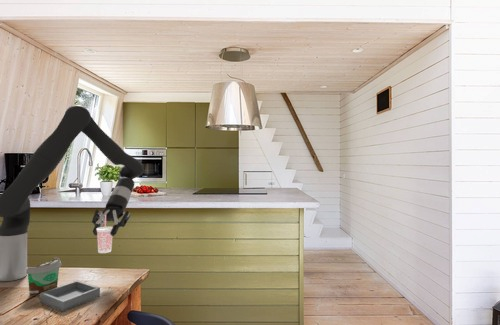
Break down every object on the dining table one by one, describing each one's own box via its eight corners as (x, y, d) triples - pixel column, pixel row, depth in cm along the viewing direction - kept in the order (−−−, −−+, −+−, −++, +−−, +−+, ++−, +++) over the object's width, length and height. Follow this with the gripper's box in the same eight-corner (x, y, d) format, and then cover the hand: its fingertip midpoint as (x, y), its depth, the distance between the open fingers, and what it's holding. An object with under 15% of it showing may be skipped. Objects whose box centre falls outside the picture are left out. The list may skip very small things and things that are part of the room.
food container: (41, 299, 105) (41, 269, 105) (25, 297, 107) (26, 267, 107) (69, 284, 117) (69, 258, 117) (55, 283, 119) (55, 256, 119)
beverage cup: (93, 253, 118) (93, 216, 118) (99, 249, 124) (100, 213, 124) (109, 253, 118) (110, 216, 118) (115, 249, 124) (116, 213, 124)
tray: (40, 302, 103) (40, 293, 103) (77, 288, 114) (77, 280, 114) (63, 311, 97) (63, 301, 97) (99, 296, 108) (99, 287, 108)
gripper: (99, 193, 129) (81, 228, 118) (133, 194, 128) (118, 229, 117) (105, 204, 135) (89, 239, 123) (138, 205, 134) (124, 240, 122)
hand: (103, 234), depth 120 cm, fingers closed on beverage cup, 6 cm apart
